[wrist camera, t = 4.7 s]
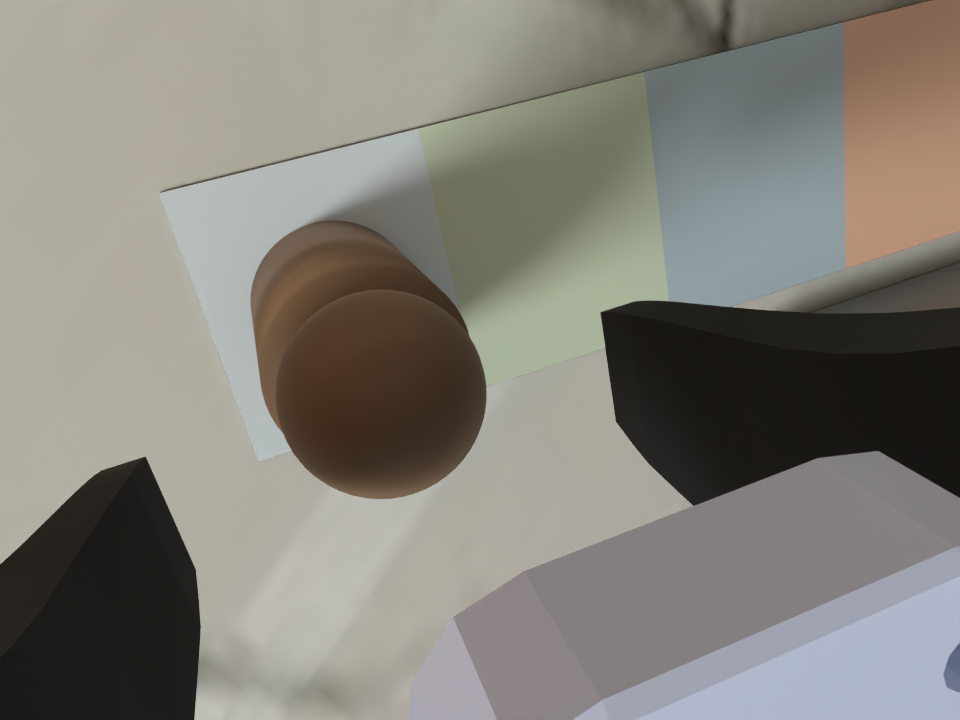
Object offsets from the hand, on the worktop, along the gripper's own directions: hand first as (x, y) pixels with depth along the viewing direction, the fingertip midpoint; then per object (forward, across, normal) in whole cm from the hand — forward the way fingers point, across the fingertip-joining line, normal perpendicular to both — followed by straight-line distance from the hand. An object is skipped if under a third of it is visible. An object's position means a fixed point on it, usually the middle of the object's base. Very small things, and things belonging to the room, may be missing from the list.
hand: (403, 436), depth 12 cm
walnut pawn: (+8, 0, 0) cm, 8 cm away
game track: (+8, -9, 0) cm, 12 cm away
